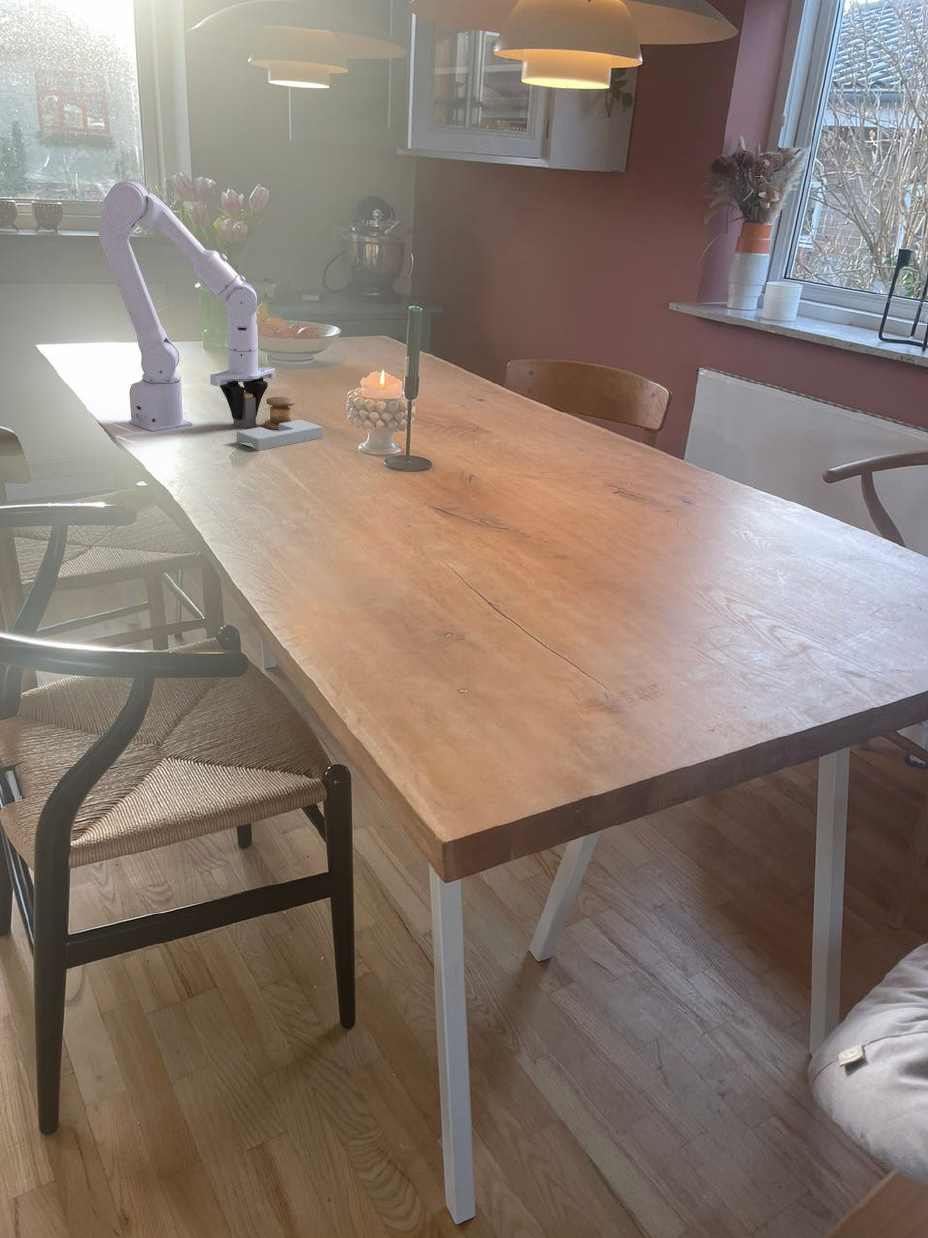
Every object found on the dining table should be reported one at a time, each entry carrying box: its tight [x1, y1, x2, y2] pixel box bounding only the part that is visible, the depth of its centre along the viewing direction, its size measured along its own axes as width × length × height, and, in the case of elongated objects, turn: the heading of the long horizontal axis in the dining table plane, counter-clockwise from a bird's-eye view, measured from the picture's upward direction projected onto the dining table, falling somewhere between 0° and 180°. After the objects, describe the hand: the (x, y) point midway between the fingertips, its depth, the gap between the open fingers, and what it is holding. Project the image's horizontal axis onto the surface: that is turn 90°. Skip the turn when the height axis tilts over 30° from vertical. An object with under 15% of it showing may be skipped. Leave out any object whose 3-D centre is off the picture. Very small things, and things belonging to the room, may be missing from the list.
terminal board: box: [236, 419, 324, 452], centre depth 183 cm, size 16×6×2 cm, turn 140°
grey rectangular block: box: [232, 391, 257, 430], centre depth 190 cm, size 2×4×7 cm, turn 50°
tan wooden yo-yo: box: [264, 396, 296, 431], centre depth 192 cm, size 6×6×5 cm
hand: (244, 417), depth 191 cm, fingers open, 3 cm apart
